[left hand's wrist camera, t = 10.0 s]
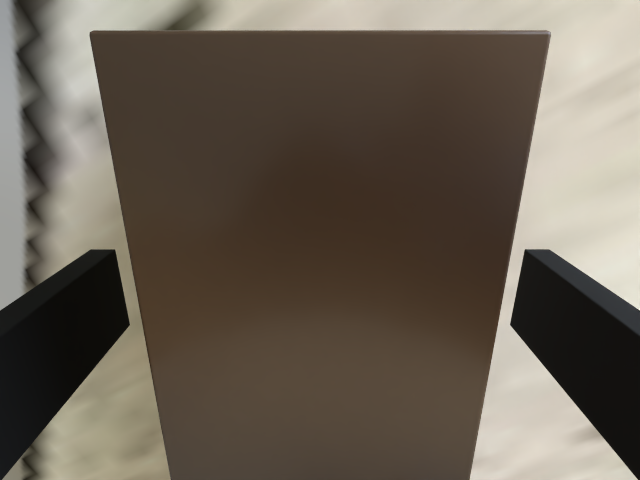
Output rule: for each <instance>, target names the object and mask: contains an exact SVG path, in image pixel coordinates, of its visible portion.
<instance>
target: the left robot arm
mask: <svg viewBox="0 0 640 480" xmlns="http://www.w3.org/2000/svg"><path fill="white" fill-rule="evenodd" d="M129 325H130V323H129V318H128V313H127V308H126V303H125V298H124V292H123V287H122V282H121V277H120V272H119V267H118V262H117V257H116V252H115V250H89V251H88V252H86V253H85V254H83V255H82V256H80V257H79V258H78V259H76V260H75V261H73V262H72V263H70V264H69V265H67V266H66V267H64V268H63V269H61V270H60V271H58V272H57V273H55V274H54V275H52V276H51V277H49V278H48V279H46V280H45V281H43V282H42V283H40V284H39V285H38V286H36V287H35V288H33V289H32V290H30V291H29V292H27V293H26V294H24V295H23V296H21V297H20V298H18V299H17V300H15V301H14V302H12V303H11V304H9V305H8V306H6V307H5V308H3V309H2V310H1V311H0V480H2V479H3V478H4V476H5V475H6V474H7V473H8V472H9V470H10V469H11V468H12V467H13V466H14V464H15V463H16V462H17V461H18V460H19V458H20V457H21V456H22V455H23V453H24V452H25V451H26V450H27V449H28V447H29V446H30V445H31V444H32V443H33V441H34V440H35V439H36V438H37V437H38V435H39V434H40V433H41V432H42V431H43V429H44V428H45V427H46V426H47V424H48V423H49V422H50V421H51V420H52V418H53V417H54V416H55V415H56V414H57V412H58V411H59V410H60V409H61V408H62V406H63V405H64V404H65V403H66V401H67V400H68V399H69V398H70V397H71V395H72V394H73V393H74V392H75V391H76V389H77V388H78V387H79V386H80V385H81V383H82V382H83V381H84V380H85V379H86V377H87V376H88V375H89V374H90V372H91V371H92V370H93V369H94V368H95V366H96V365H97V364H98V363H99V362H100V360H101V359H102V358H103V357H104V356H105V354H106V353H107V352H108V351H109V349H110V348H111V347H112V346H113V345H114V343H115V342H116V341H117V340H118V339H119V337H120V336H121V335H122V334H123V333H124V331H125V330H126V329H127V328H128V327H129ZM510 325H511V326H512V328H513V329H514V330H515V331H516V333H517V334H518V335H519V336H520V337H521V339H522V340H523V341H524V342H525V343H526V345H527V346H528V347H529V348H530V349H531V351H532V352H533V353H534V354H535V356H536V357H537V358H538V359H539V360H540V362H541V363H542V364H543V365H544V366H545V368H546V369H547V370H548V371H549V372H550V374H551V375H552V376H553V377H554V378H555V380H556V381H557V382H558V383H559V385H560V386H561V387H562V388H563V389H564V391H565V392H566V393H567V394H568V395H569V397H570V398H571V399H572V400H573V401H574V403H575V404H576V405H577V406H578V408H579V409H580V410H581V411H582V412H583V414H584V415H585V416H586V417H587V418H588V420H589V421H590V422H591V423H592V424H593V426H594V427H595V428H596V429H597V430H598V432H599V433H600V434H601V435H602V437H603V438H604V439H605V440H606V441H607V443H608V444H609V445H610V446H611V447H612V449H613V450H614V451H615V452H616V453H617V455H618V456H619V457H620V458H621V460H622V461H623V462H624V463H625V464H626V466H627V467H628V468H629V469H630V470H631V472H632V473H633V474H634V475H635V476H636V478H637V479H638V480H640V310H638V309H637V308H635V307H634V306H632V305H631V304H629V303H628V302H626V301H625V300H623V299H622V298H620V297H619V296H617V295H616V294H614V293H613V292H611V291H610V290H608V289H607V288H605V287H604V286H603V285H601V284H600V283H598V282H597V281H595V280H594V279H592V278H591V277H589V276H588V275H586V274H585V273H583V272H582V271H580V270H579V269H577V268H576V267H574V266H573V265H571V264H570V263H568V262H567V261H565V260H564V259H562V258H561V257H560V256H558V255H557V254H555V253H554V252H552V251H551V250H525V252H524V257H523V262H522V267H521V272H520V277H519V282H518V287H517V293H516V298H515V303H514V308H513V313H512V318H511V323H510Z"/></svg>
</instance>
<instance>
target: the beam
mask: <svg viewBox="0 0 640 480" xmlns="http://www.w3.org/2000/svg"><path fill="white" fill-rule="evenodd" d="M550 37H551V33H550V32H549V31H547V30H347V31H92V32H90V40H91V46H92V51H93V57H94V62H95V68H96V73H97V78H98V84H99V89H100V95H101V100H102V106H103V111H104V117H105V122H106V128H107V133H108V139H109V144H110V149H111V155H112V160H113V166H114V171H115V177H116V182H117V188H118V193H119V199H120V204H121V210H122V215H123V220H124V226H125V231H126V237H127V242H128V248H129V253H130V259H131V264H132V270H133V275H134V281H135V286H136V292H137V297H138V302H139V308H140V313H141V319H142V324H143V330H144V335H145V341H146V346H147V352H148V357H149V363H150V368H151V373H152V379H153V384H154V390H155V395H156V401H157V406H158V412H159V417H160V423H161V428H162V434H163V439H164V444H165V450H166V455H167V461H168V466H169V472H170V477H171V480H469V479H470V473H471V468H472V462H473V457H474V451H475V446H476V441H477V435H478V430H479V424H480V419H481V413H482V408H483V402H484V397H485V391H486V386H487V381H488V375H489V370H490V364H491V359H492V353H493V348H494V342H495V337H496V331H497V326H498V321H499V315H500V310H501V304H502V299H503V293H504V288H505V282H506V277H507V271H508V266H509V261H510V255H511V250H512V244H513V239H514V233H515V228H516V222H517V217H518V211H519V206H520V201H521V195H522V190H523V184H524V179H525V173H526V168H527V162H528V157H529V151H530V146H531V141H532V135H533V130H534V124H535V119H536V113H537V108H538V102H539V97H540V91H541V86H542V81H543V75H544V70H545V64H546V59H547V53H548V48H549V42H550Z"/></svg>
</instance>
